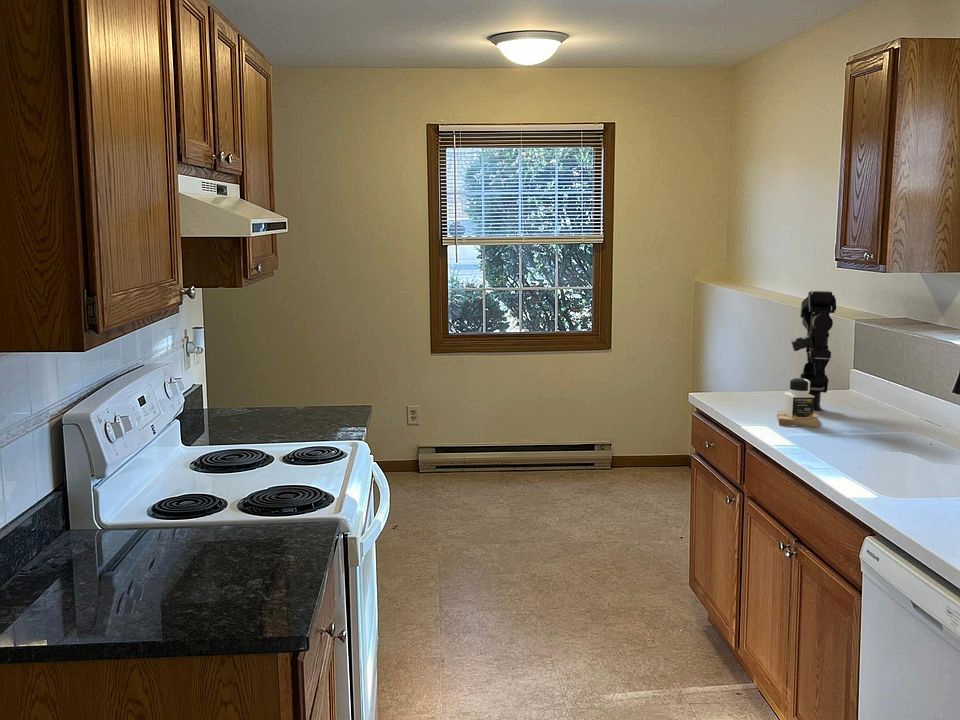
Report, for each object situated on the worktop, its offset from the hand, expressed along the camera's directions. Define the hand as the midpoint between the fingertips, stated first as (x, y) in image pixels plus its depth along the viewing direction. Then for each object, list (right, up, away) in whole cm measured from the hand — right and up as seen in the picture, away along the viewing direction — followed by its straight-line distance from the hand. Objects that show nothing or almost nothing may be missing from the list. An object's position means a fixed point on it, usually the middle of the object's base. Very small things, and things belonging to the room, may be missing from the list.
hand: (816, 376), depth 314 cm
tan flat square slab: (-9, -14, -8) cm, 19 cm away
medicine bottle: (-9, -13, -8) cm, 17 cm away
